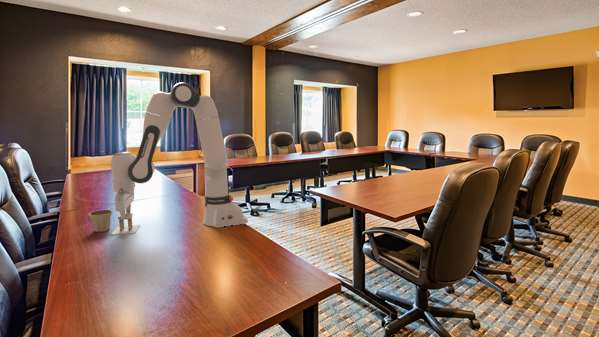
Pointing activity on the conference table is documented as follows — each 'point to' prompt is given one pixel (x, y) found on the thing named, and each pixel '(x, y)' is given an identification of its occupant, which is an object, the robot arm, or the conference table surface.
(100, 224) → the flower pot
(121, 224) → the stool
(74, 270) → the conference table surface
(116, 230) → the mat
